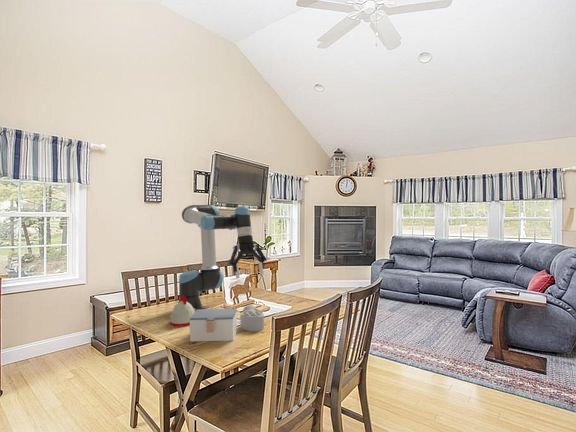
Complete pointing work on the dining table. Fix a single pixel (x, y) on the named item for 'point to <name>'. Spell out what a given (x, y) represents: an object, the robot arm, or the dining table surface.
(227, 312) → the carton lid
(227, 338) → the carton
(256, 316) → the lumpy-topped squat cylinder
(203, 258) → the robot arm
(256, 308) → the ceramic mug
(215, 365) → the dining table surface
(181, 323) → the kitchen timer
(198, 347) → the dining table surface
